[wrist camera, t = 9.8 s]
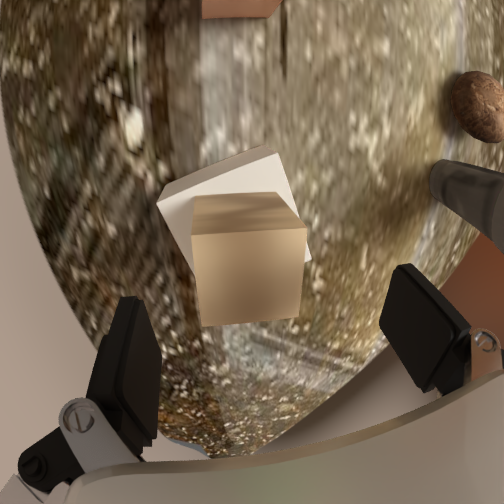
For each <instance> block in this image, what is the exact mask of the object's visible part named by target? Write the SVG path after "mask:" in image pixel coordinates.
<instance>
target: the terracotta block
mask: <svg viewBox="0 0 504 504" xmlns="http://www.w3.org/2000/svg"><path fill="white" fill-rule="evenodd" d="M281 1H282V0H202V19H208V18H228V17H264V18H269V17H270V16H271V15H272V13H273V12H274V11H275V9H276V8H277V7H278V5H279V4H280V3H281Z"/></svg>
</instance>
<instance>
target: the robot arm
mask: <svg viewBox="0 0 504 504" xmlns="http://www.w3.org/2000/svg"><path fill="white" fill-rule="evenodd" d="M379 326H380V329H381V330H382V332H383V333H384V335H385V336H386V338H387V339H388V341H389V342H390V344H391V345H392V347H393V349H394V350H395V352H396V353H397V355H398V356H399V358H400V360H401V361H402V363H403V365H404V366H405V368H406V369H407V371H408V373H409V374H410V376H411V378H412V379H413V381H414V383H415V384H416V386H417V387H418V388H421V390H422V392H423V393H426V392H429V391H431V390H433V389H434V388H435V386H436V387H437V389H438V392H437V398H436V400H435V401H433V402H431V403H429V404H427V405H424V406H422V407H420V408H418V409H415V410H414V411H411V412H408V413H406V414H404V415H401V416H399V417H396V418H394V419H391V420H388V421H386V422H383V423H380V424H377V425H375V426H372V427H369V428H366V429H363V430H360V431H357V432H354V433H350V434H347V435H344V436H340V437H337V438H333V439H329V440H326V441H322V442H318V443H313V444H309V445H305V446H301V447H296V448H291V449H286V450H280V451H275V452H270V453H263V454H256V455H248V456H240V457H231V458H220V459H208V460H191V461H161V462H146V461H145V459H144V458H143V457H142V456H141V454H142V453H143V446H144V447H152V439H156V438H157V425H158V406H159V391H160V377H161V366H162V354H161V350H160V348H159V345H158V342H157V340H156V337H155V334H154V331H153V328H152V325H151V322H150V319H149V316H148V313H147V310H146V307H145V304H144V301H143V300H139V299H138V297H137V296H129V297H121V298H120V300H119V303H118V306H117V309H116V312H115V315H114V318H113V321H112V324H111V327H110V330H109V334H108V335H104V336H103V338H102V340H101V343H100V347H99V350H98V353H97V357H96V360H95V363H94V367H93V371H92V375H91V378H90V382H89V386H88V390H87V394H86V398H75V399H73V400H71V401H69V402H68V403H66V404H65V405H64V407H63V408H62V410H61V412H60V414H59V425H60V426H59V427H58V428H56V429H55V430H54V431H52V432H51V433H49V434H48V435H46V436H45V437H44V438H42V439H41V440H39V441H38V442H36V443H35V444H33V445H32V446H31V447H29V448H28V449H26V450H25V451H24V452H23V453H22V454H21V456H20V458H19V461H18V471H19V473H18V475H15V474H13V475H12V477H11V478H10V480H9V481H8V482H7V484H6V485H5V486H4V488H3V489H2V491H1V492H0V504H504V350H503V349H501V348H500V343H499V340H498V339H497V337H496V336H495V335H494V334H493V333H492V332H490V331H488V330H486V329H476V330H474V331H473V333H472V334H471V335H470V334H469V331H470V329H471V326H470V325H469V323H468V322H467V321H466V320H465V319H464V317H463V316H462V315H461V314H460V313H459V312H458V311H457V310H456V309H455V308H454V306H453V305H452V304H451V303H450V302H449V301H448V300H447V299H446V298H445V297H444V296H443V295H442V294H441V292H440V291H439V290H438V289H437V288H436V287H435V286H434V285H433V284H432V283H431V282H430V281H429V280H428V279H427V278H426V277H425V276H424V275H423V274H422V273H421V272H420V271H419V270H418V269H417V268H416V267H415V266H414V265H413V264H411V263H408V264H402V265H398V266H397V267H396V269H395V270H394V271H393V274H392V277H391V281H390V285H389V289H388V292H387V296H386V299H385V303H384V306H383V309H382V313H381V316H380V319H379Z"/></svg>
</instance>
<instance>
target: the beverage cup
mask: <svg viewBox="0 0 504 504" xmlns="http://www.w3.org/2000/svg"><path fill="white" fill-rule="evenodd" d="M429 187H430V191H431V194H432V195H433V196H434V198H436V199H438V200H439V201H440V202H442V203H443V205H445V206H446V207H448V208H449V209H451V210H452V211H453V212H455V213H456V214H458V215H459V216H460V217H462V218H463V219H465V220H466V221H467V222H469V223H470V224H471V225H473V226H474V227H475V228H476V229H478V230H479V231H480V232H482V233H483V234H484V235H485V236H487V237H488V238H489V239H490V240H492V241H493V242H494V244H495V245H496V246H497V248H498V249H499V250H500V251H501V252H502V253H503V254H504V173H501V172H497V171H494V170H490V169H487V168H483V167H479V166H475V165H471V164H467V163H463V162H458V161H450V160H445V159H443V160H440V161H438V162H437V163H436V164H435V166H434V167H433V169H432V171H431V174H430V179H429Z"/></svg>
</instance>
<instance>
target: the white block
mask: <svg viewBox="0 0 504 504" xmlns="http://www.w3.org/2000/svg"><path fill="white" fill-rule="evenodd" d="M251 192H277V193H278V194H279V196H280V197H281V198H282V199H283V200H284V201H285V202H286V204H287V205H288V206H289V207H290V208H291V209H292V211H293V212H294V213H295V214H296V215H297V216H298V218H299V215H298V212H297V209H296V206H295V202H294V199H293V196H292V193H291V190H290V187H289V184H288V181H287V178H286V175H285V172H284V169H283V166H282V163H281V160H280V157H279V154H278V153H277V152H276V151H274V150H272V149H270V148H268V147H266V146H264V145H261V146H258V147H255V148H253V149H250V150H247V151H245V152H242V153H240V154H237V155H234V156H232V157H229V158H227V159H224V160H222V161H219V162H217V163H215V164H212V165H210V166H207V167H205V168H203V169H200V170H198V171H196V172H193V173H191V174H189V175H187V176H184V177H182V178H180V179H178V180H175V181H173V182H171V183H169V184H167V185H166V186H165V187H164V189H163V191H162V193H161V195H160V197H159V199H158V201H157V203H156V204H157V206H158V208H159V210H160V212H161V214H162V215H163V217H164V219H165V221H166V223H167V225H168V227H169V229H170V231H171V233H172V235H173V237H174V239H175V240H176V242H177V244H178V246H179V248H180V250H181V252H182V254H183V255H184V257H185V259H186V261H187V263H188V265H189V266H190V268H191V270H192V272H193V274H194V275H195V269H194V260H193V250H192V241H191V230H192V220H193V210H194V201H195V196H198V195H213V194H230V193H251ZM299 219H300V218H299ZM309 260H311V255H310V252H309V248H308V245H307V241H306V250H305V261H304V262H306V261H309Z"/></svg>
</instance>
